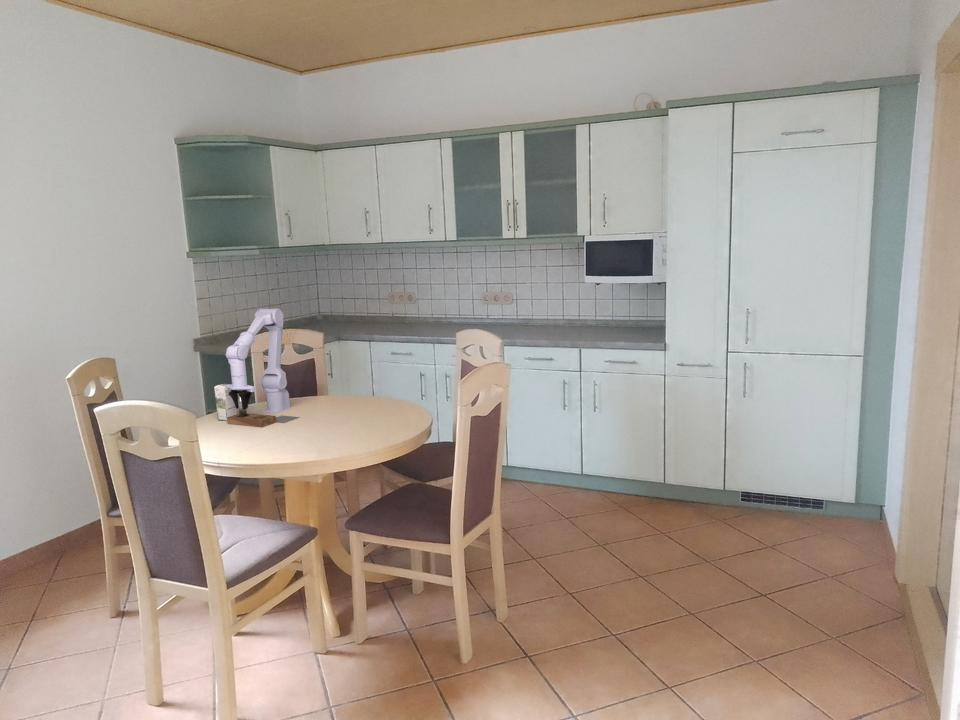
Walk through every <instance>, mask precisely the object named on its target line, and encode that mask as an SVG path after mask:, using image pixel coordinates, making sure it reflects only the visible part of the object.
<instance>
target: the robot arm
mask: <svg viewBox="0 0 960 720" xmlns="http://www.w3.org/2000/svg"><path fill="white" fill-rule="evenodd" d="M284 316H285V315H284V313H283V311H282V310H281V309H280V308H277V307H276V308H261V307H260V308H258V309H257V310H256V312H255V313H254V319H253V321H252V322H251V324H250V326H249V327H248V329H247V330H246V331H243V332H241V333H239V336H238V337H237V339H236V341H234V343H233V344H232V345H229V346H228V347H227V348H226V351H225V352H226V353H225V357H226V358H227V360H228V364H229V366H230V375H231V384H232V385H225V390H231V392H229V395H230V396H231V398H232V399H233V401H234V404H235V406H236V409H237V410H239V408H238V398H237V393H238V392H240V393H239V396H240V398H241V402H242V408H243V409H248V408H249V404H250V399H251V397H252V394H253V393H255V392H256V391H257V390H256V389H257V388H256V386H254V385H249V384H248V379H247V378H248V377H247V368H246V366H247V365H246V359H247V358H248V355H249V351H250V350H249V349H250V348H251V347H252V345H253V344H254V343H255V340H256V339H255V336H256V335H257V334H258V333H259V332H260V331H261V330H262V328H263V327H264V328H266V329H267V330H268V332H269V333H268V350H267V351H268V353H267V367H266V368H265V369H264V370H263V372H262V376H261V379H260V386H261V388H262V389H263V391H264V392H265V397H266V409H264V410H262V412H263V413H271V414H279V413H281V412H282V413H283V412H285V411H287V410H290V409H292V406H291V403H290V394H289V391H288V390H287V389H286V388H287V384H288V382H287V381H288V380H287V376H286V375H287V373H286V372H285V371H284V370H283V368H282V367H281V365H282V346H283V345H282V344H283V328H284Z"/></svg>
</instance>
